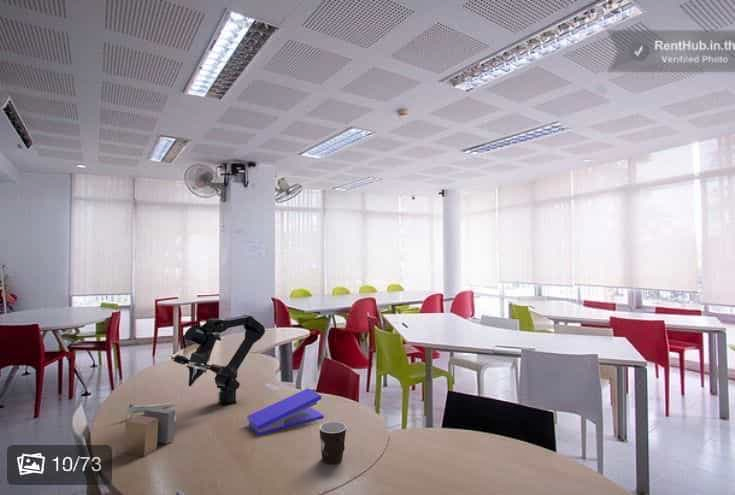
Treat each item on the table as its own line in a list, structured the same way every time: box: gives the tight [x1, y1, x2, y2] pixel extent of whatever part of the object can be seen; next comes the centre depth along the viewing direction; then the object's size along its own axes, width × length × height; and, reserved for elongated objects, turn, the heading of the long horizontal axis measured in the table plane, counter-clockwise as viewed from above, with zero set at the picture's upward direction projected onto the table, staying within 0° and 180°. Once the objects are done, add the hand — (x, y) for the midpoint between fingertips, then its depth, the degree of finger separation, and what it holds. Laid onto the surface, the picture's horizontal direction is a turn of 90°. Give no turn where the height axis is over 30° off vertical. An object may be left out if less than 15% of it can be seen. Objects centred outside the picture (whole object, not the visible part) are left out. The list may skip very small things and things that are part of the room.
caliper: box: [125, 402, 177, 421], centre depth 155 cm, size 20×1×6 cm, turn 151°
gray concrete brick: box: [143, 407, 176, 445], centre depth 130 cm, size 3×10×10 cm, turn 76°
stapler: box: [246, 387, 325, 436], centre depth 148 cm, size 12×28×10 cm, turn 129°
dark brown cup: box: [318, 421, 347, 465], centre depth 118 cm, size 12×9×10 cm
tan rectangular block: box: [123, 414, 177, 457], centre depth 128 cm, size 16×8×10 cm, turn 166°
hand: (189, 386), depth 150 cm, fingers closed
